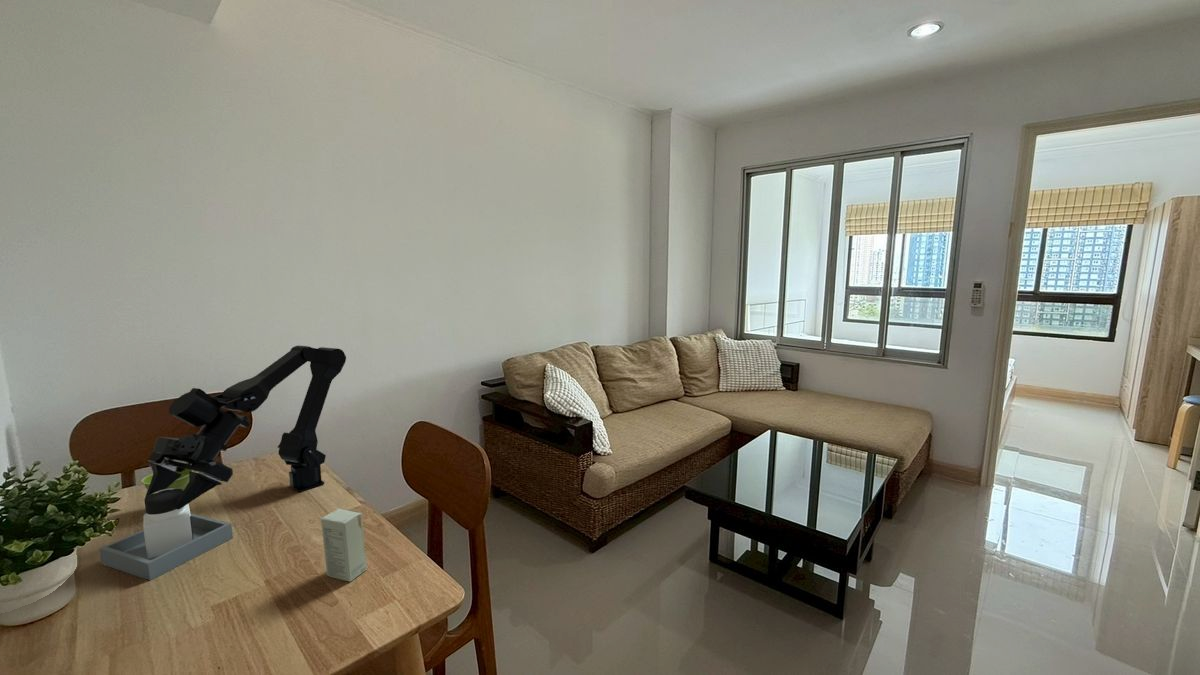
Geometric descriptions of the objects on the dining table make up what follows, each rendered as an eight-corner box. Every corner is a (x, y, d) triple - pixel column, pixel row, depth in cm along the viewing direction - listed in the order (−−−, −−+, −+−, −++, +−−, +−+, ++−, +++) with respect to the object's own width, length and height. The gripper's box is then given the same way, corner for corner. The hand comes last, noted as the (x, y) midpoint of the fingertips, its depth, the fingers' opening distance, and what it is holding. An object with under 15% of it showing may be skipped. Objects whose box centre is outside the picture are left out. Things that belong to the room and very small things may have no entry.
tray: (187, 525, 108) (185, 511, 107) (232, 538, 103) (231, 523, 102) (101, 564, 93) (99, 548, 93) (150, 580, 89) (147, 563, 88)
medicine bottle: (194, 546, 98) (188, 492, 96) (147, 560, 93) (139, 504, 91) (192, 532, 103) (185, 481, 101) (147, 545, 98) (140, 492, 97)
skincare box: (368, 569, 93) (364, 512, 91) (350, 583, 89) (345, 523, 87) (343, 562, 95) (339, 506, 93) (324, 575, 91) (320, 517, 89)
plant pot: (156, 502, 118) (152, 470, 116) (203, 496, 121) (199, 465, 120) (137, 521, 109) (132, 486, 108) (188, 513, 113) (184, 480, 112)
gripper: (152, 415, 102) (92, 484, 93) (211, 424, 96) (153, 499, 87) (197, 437, 110) (146, 502, 101) (253, 447, 104) (205, 517, 96)
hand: (161, 505), depth 96 cm, fingers open, 9 cm apart
